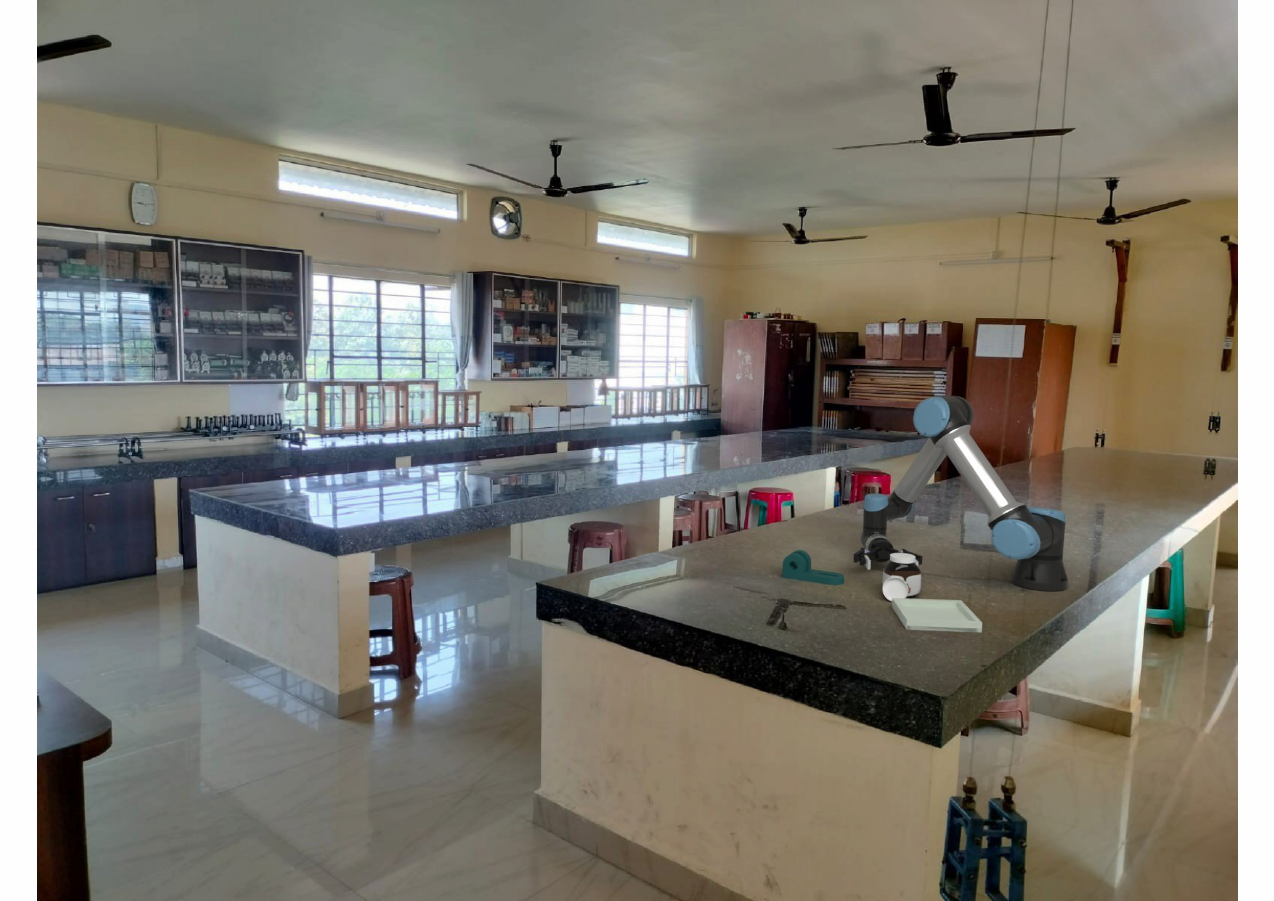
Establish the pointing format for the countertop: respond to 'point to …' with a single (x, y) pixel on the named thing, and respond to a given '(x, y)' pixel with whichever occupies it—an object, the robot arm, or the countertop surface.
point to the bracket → (808, 570)
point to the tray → (936, 615)
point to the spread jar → (901, 577)
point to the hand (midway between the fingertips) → (893, 565)
